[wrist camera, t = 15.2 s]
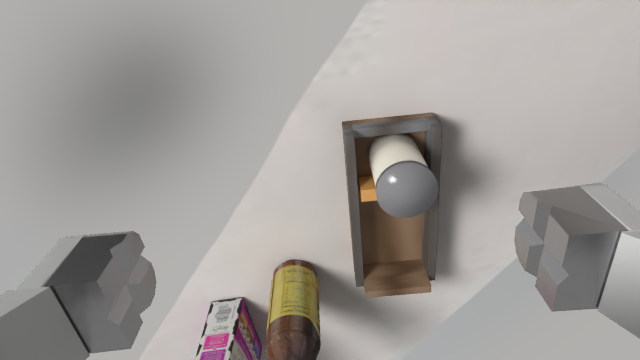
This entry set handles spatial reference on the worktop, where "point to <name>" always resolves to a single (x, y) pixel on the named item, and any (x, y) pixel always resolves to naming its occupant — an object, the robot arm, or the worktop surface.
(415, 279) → the lane
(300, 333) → the sauce bottle
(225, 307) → the candy bar box
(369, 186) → the pusher
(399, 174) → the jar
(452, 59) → the worktop surface
